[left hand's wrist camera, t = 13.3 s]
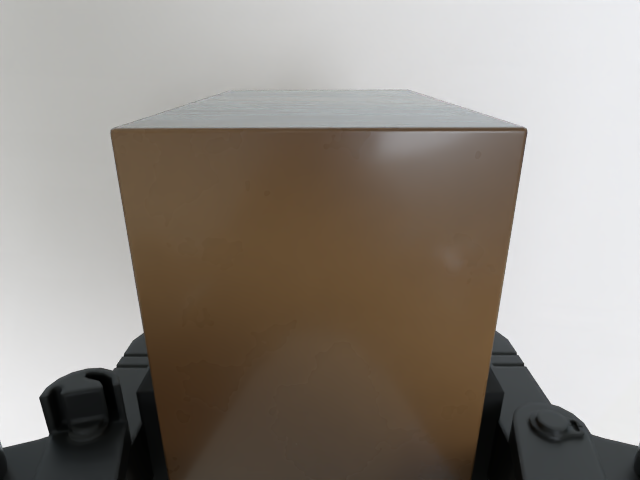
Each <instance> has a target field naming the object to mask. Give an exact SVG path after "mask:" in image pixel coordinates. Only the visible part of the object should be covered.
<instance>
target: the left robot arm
mask: <svg viewBox="0 0 640 480" xmlns="http://www.w3.org/2000/svg"><path fill="white" fill-rule="evenodd" d="M39 399H40V402H41V406H42V409H43V413H44V416H45V420H46V424H47V427H48V431H49V437H45V438H42V439H39V440H35V441H31V442H26V443H22V444H18V445H14V446H9V447H5V448H2V445H1V442H0V480H168V474H167V468H166V462H165V456H164V450H163V444H162V438H161V432H160V426H159V420H158V414H157V408H156V402H155V396H154V390H153V384H152V378H151V372H150V366H149V360H148V354H147V348H146V342H145V336H144V333H143V334H142V335H140V336H139V337H137V338H136V339H135V340H133V341H132V343H131V344H130V346H129V347H128V349H127V350H126V352H125V353H124V357H122V358H121V359H120V361H119V362H118V364H117V367H116V368H114V370H113V371H112V370H108V369H104V368H88V369H84V370H80V371H76V372H72V373H70V374H68V375H66V376H64V377H61V378H59V379H58V380H56V381H55V382H54V383H52V384H51V385H49V386H48V387H47V388H46V389H45V390H44V392H43V393H42V394H41V396H40V397H39ZM472 480H640V443H639V446H635V445H630V444H626V443H622V442H618V441H613V440H609V439H605V438H601V437H598V436H595V435H591V433H590V432H589V430H588V429H587V427H586V426H585V424H584V423H583V422H582V421H581V420H580V419H578V418H577V417H576V416H575V415H574V414H572V413H570V412H569V411H567V410H565V409H563V408H561V407H559V406H555V405H552V404H551V403H550V402H549V400H548V399H547V397H546V396H545V394H544V393H543V391H542V390H541V388H540V387H539V385H538V384H537V382H536V381H535V379H534V378H533V376H532V375H531V373H530V372H529V370H528V369H527V367H524V363H523V361H522V360H521V358H520V357H519V355H517V352H516V351H515V349H514V348H513V347H512V345H511V344H510V342H509V341H508V339H506V338H505V337H504V336H502V335H501V334H500V333H498V332H497V331H495V336H494V342H493V349H492V355H491V361H490V367H489V374H488V380H487V386H486V392H485V399H484V405H483V411H482V417H481V423H480V430H479V436H478V442H477V448H476V455H475V461H474V467H473V473H472Z"/></svg>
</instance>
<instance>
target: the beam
mask: <svg viewBox="0 0 640 480" xmlns="http://www.w3.org/2000/svg"><path fill="white" fill-rule="evenodd" d="M526 137H527V129H526V128H525V127H522V126H519V125H516V124H513V123H510V122H507V121H504V120H501V119H497V118H494V117H491V116H488V115H485V114H482V113H479V112H476V111H473V110H469V109H466V108H463V107H460V106H457V105H454V104H451V103H448V102H445V101H442V100H438V99H435V98H432V97H429V96H426V95H423V94H420V93H417V92H414V91H411V90H230V91H227V92H224V93H221V94H218V95H215V96H212V97H209V98H206V99H202V100H199V101H196V102H193V103H190V104H187V105H184V106H181V107H178V108H175V109H171V110H168V111H165V112H162V113H159V114H156V115H153V116H150V117H147V118H143V119H140V120H137V121H134V122H131V123H128V124H125V125H122V126H119V127H116V128H113V129H111V139H112V145H113V151H114V157H115V163H116V169H117V175H118V181H119V187H120V193H121V199H122V205H123V211H124V217H125V223H126V229H127V235H128V241H129V247H130V253H131V259H132V265H133V271H134V277H135V283H136V289H137V295H138V301H139V307H140V312H141V318H142V324H143V330H144V336H145V342H146V348H147V354H148V360H149V366H150V372H151V378H152V384H153V390H154V396H155V402H156V408H157V414H158V420H159V426H160V432H161V438H162V444H163V450H164V456H165V462H166V468H167V474H168V480H472V473H473V467H474V461H475V455H476V448H477V442H478V436H479V430H480V423H481V417H482V411H483V405H484V399H485V392H486V386H487V380H488V374H489V367H490V361H491V355H492V349H493V342H494V336H495V330H496V324H497V318H498V311H499V305H500V299H501V293H502V286H503V280H504V274H505V268H506V262H507V255H508V249H509V243H510V237H511V230H512V224H513V218H514V212H515V205H516V199H517V193H518V187H519V181H520V174H521V168H522V162H523V156H524V149H525V143H526Z"/></svg>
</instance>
